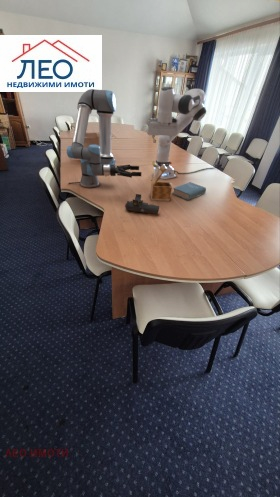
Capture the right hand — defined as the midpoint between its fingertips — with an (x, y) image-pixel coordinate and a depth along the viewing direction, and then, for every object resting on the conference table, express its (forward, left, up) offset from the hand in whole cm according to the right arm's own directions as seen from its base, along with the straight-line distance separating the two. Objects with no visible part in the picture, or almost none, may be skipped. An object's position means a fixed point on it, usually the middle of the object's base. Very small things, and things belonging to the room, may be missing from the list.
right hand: (161, 142), depth 146 cm
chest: (-3, +1, -39) cm, 39 cm away
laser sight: (+21, +18, -39) cm, 47 cm away
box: (+16, -105, -39) cm, 113 cm away
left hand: (+12, -5, -19) cm, 23 cm away
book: (-30, +3, -39) cm, 49 cm away
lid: (-1, 0, -22) cm, 22 cm away
